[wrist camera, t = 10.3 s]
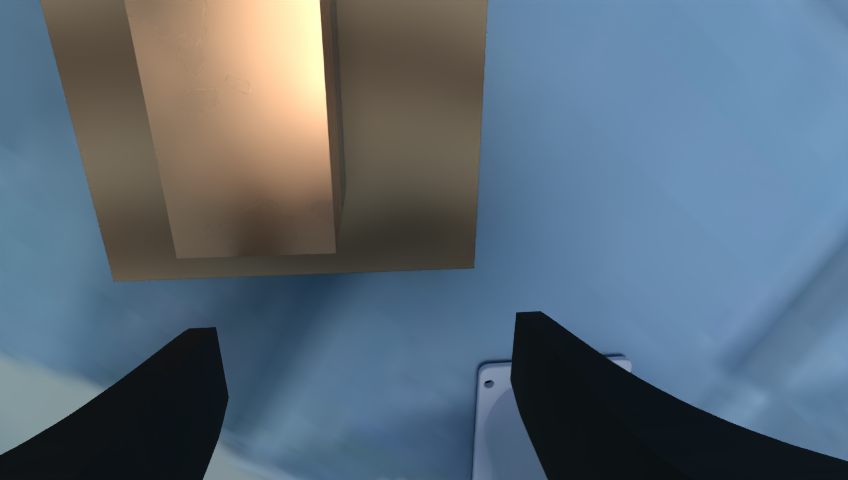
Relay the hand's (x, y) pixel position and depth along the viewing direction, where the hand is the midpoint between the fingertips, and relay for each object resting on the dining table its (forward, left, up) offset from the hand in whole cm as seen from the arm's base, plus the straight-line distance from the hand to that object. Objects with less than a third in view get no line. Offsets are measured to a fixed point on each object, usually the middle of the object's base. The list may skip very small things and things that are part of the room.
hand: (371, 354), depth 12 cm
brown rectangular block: (+6, +3, -8) cm, 10 cm away
